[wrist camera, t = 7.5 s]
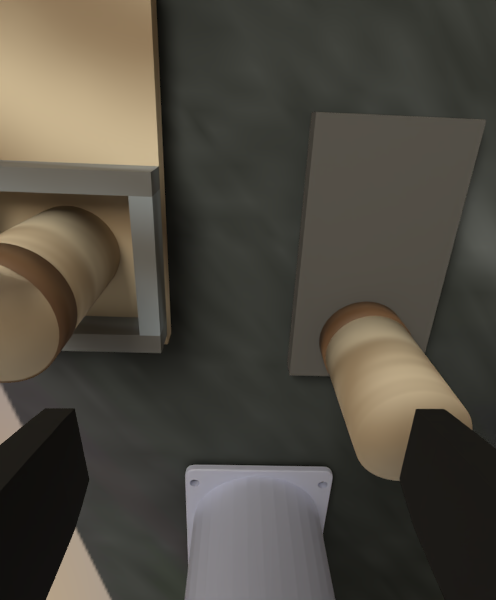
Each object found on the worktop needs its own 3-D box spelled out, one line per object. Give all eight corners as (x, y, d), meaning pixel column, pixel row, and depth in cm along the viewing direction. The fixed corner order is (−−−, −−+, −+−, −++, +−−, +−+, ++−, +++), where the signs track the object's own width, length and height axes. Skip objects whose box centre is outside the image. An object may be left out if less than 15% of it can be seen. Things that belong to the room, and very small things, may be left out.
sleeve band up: (123, 297, 17) (68, 386, 12) (32, 291, 17) (-68, 378, 11) (118, 208, 15) (51, 262, 10) (18, 200, 15) (-106, 252, 10)
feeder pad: (410, 366, 20) (418, 378, 19) (287, 362, 20) (289, 375, 19) (471, 119, 15) (486, 119, 14) (311, 111, 15) (316, 111, 14)
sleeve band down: (394, 375, 19) (456, 482, 14) (314, 373, 19) (345, 481, 13) (411, 302, 17) (489, 392, 12) (324, 300, 17) (363, 389, 12)
